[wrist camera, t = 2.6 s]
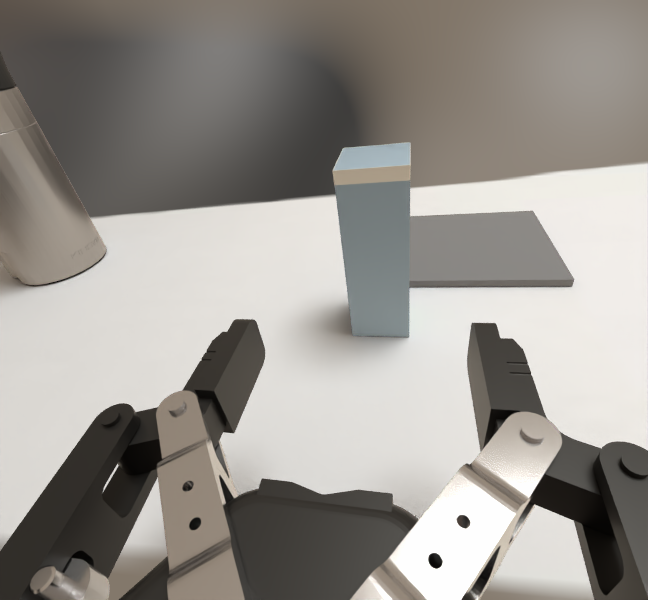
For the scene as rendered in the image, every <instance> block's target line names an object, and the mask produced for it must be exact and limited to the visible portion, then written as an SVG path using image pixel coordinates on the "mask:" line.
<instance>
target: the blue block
mask: <svg viewBox="0 0 648 600" xmlns="http://www.w3.org/2000/svg"><path fill="white" fill-rule="evenodd" d="M410 165H411V163H410V142H409V143H397V144H387V145H375V146H364V147H352V148H343V150H342V152H341V154H340V156H339V158H338V161H337V162H336V165H335V167H334V169H333V177H334V185H335V190H336V199H337V208H338V216H339V225H340V233H341V242H342V250H343V259H344V267H345V276H346V284H347V292H348V301H349V309H350V318H351V326H352V335H353V336H386V337H409V268H410V167H411V166H410Z"/></svg>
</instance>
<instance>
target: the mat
mask: <svg viewBox="0 0 648 600" xmlns="http://www.w3.org/2000/svg"><path fill="white" fill-rule="evenodd" d="M573 282H574V278H573V277H572V275H571V273H570V272H569V270H568V268H567V267H566V265H565V263H564V262H563V260H562V258H561V257H560V255H559V253H558V252H557V250H556V248H555V247H554V245H553V243H552V242H551V240H550V238H549V237H548V235H547V233H546V232H545V230H544V229H543V227H542V225H541V224H540V222H539V220H538V219H537V217H536V215H535V214H534V212H533V211H519V212H498V213H476V214H454V215H432V216H411V217H410V268H409V287H485V286H572V285H573Z"/></svg>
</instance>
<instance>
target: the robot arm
mask: <svg viewBox="0 0 648 600" xmlns="http://www.w3.org/2000/svg"><path fill="white" fill-rule="evenodd" d="M14 86H16V84H15V82H14V80H13V79H12V77H11V75H10V73H9V71H8V69H7V67H6V65H5V62H4V60H3V57H2V55H1V53H0V261H1V263H2V264H3V265H4V267H5V268H6V269H7V270H8V272H9V273H10V274H11V276H12V277H17V278H19V280H20V281H21V282H23V283H24V284H28V285H40V284H47V283H51V282H56V281H59V280H62V279H65V278H68V277H70V276H73V275H75V274H77V273H79V272H81V271H83V270H85V269H87V268H89V267H90V266H92V265H93V264H95V263H96V262H98V261H99V260H100V259H101V258H102V257H103V255H104V254H105V253H106V246H105V244H104V243H103V241H102V239H101V237H100V235H99V234H98V232H97V230H96V228H95V226H94V225H93V223H92V221H91V219H90V217H89V215H88V213H87V212H86V210H85V208H84V206H83V204H82V203H81V201H80V199H79V197H78V195H77V194H76V192H75V190H74V188H73V187H72V185H71V183H70V181H69V179H68V177H67V176H66V174H65V172H64V170H63V168H62V167H61V165H60V163H59V161H58V159H57V158H56V156H55V154H54V152H53V150H52V149H51V147H50V145H49V143H48V142H47V140H46V138H45V136H44V134H43V132H42V131H41V129H40V127H39V125H38V124H37V122H36V120H35V118H34V117H33V115H32V113H31V111H30V109H29V107H28V106H27V104H26V102H25V100H24V98H23V97H22V95H21V93H20V91H19V89H18V88H17V87H14ZM264 360H265V348H264V344H263V341H262V338H261V335H260V332H259V329H258V326H257V323H256V321H255V320H248V319H236V320H234V321H233V323H232V325H231V326H230V328H229V330H228V331H227V332H222V333H221V334H220V335H219V336H217V337H216V338H215V339H214V340H213V341H212V343H211V344H210V346H209V347H208V349H207V352H206V353H205V354H204V356H203V357H202V361H200V362H199V364H198V366H197V367H196V369H195V371H194V372H193V374H192V376H191V377H190V379H189V381H188V382H187V384H186V385H185V387H184V389H183V390H182V391H179V392H176V393H173V394H171V395H170V396H168V397H167V398H166V399H164V400H163V401H162V402H161V404H160V405H159V407H157V408H153V409H148V410H144V411H139V412H135V410H134V409H133V408H132V406H130V405H129V404H124V403H123V404H116V405H113V406H111V407H109V408H107V409H106V410H104V411H103V412H101V413H100V414H99V415H98V416H97V417H96V418H95V420H94V421H93V422H92V424H91V425H90V427H89V428H88V429H87V431H86V432H85V434H84V435H83V436H82V438H81V439H80V441H79V442H78V443H77V445H76V446H75V448H74V449H73V450H72V452H71V453H70V455H69V456H68V457H67V459H66V460H65V462H64V463H63V464H62V466H61V467H60V469H59V470H58V471H57V473H56V474H55V476H54V477H53V478H52V480H51V481H50V483H49V484H48V485H47V487H46V488H45V490H44V491H43V492H42V494H41V495H40V497H39V498H38V499H37V501H36V502H35V504H34V505H33V506H32V508H31V509H30V511H29V512H28V513H27V515H26V516H25V517H24V519H23V520H22V522H21V523H20V524H19V526H18V527H17V529H16V530H15V531H14V533H13V534H12V536H11V537H10V538H9V540H8V541H7V543H6V544H5V545H4V547H3V548H2V550H1V551H0V600H108V597H109V591H110V586H109V581H108V577H109V575H110V573H111V571H112V569H113V567H114V565H115V563H116V561H117V559H118V557H119V555H120V553H121V551H122V549H123V547H124V545H125V543H126V541H127V539H128V536H129V534H130V532H131V530H132V528H133V526H134V524H135V522H136V520H137V518H138V516H139V514H140V512H141V510H142V508H143V506H144V504H145V502H146V500H147V498H148V496H149V493H150V491H151V489H152V487H153V485H154V483H155V481H156V479H157V477H158V481H159V489H160V497H161V505H162V513H163V521H164V529H165V538H166V546H167V554H168V556H167V557H166V558H165V559H164V560H163V561H162V562H161V563H159V564H158V565H157V566H156V567H155V568H154V569H153V570H152V571H151V572H149V573H148V574H147V575H146V576H145V577H144V578H143V579H142V580H140V581H139V582H138V583H137V584H136V585H135V586H134V587H133V588H132V589H130V590H129V591H128V592H127V593H126V594H125V595H124V596H123V597H122V598H120V599H119V600H480V598H481V596H482V595H483V593H484V591H485V590H486V588H487V587H488V585H489V583H490V582H491V580H492V578H493V577H494V575H495V573H496V572H497V570H498V568H499V566H500V564H501V562H502V560H503V558H504V557H505V555H506V553H507V551H508V549H509V548H510V546H511V544H512V543H513V541H514V539H515V538H516V536H517V535H518V533H519V531H520V530H521V528H522V526H523V525H524V523H525V522H526V520H527V518H528V517H529V515H530V513H531V512H532V510H533V509H534V507H535V505H538V506H540V507H543V508H545V509H547V510H550V511H552V512H555V513H557V514H559V515H562V516H564V517H567V518H569V519H571V520H574V523H575V527H576V530H577V534H578V538H579V542H580V546H581V550H582V554H583V557H584V561H585V565H586V569H587V573H588V577H589V581H590V584H591V588H592V592H593V596H594V600H648V451H647V450H646V449H644V448H642V447H640V446H637V445H635V444H631V443H627V442H611V443H608V444H606V445H605V446H604V447H602V449H601V448H598V447H595V446H592V445H589V444H586V443H583V442H580V441H577V440H574V439H572V438H570V437H568V436H566V435H564V434H562V433H561V432H559V430H558V429H557V428H556V426H555V425H554V424H553V423H552V422H550V421H549V420H548V419H547V418H546V415H545V413H544V410H543V407H542V404H541V401H540V398H539V395H538V392H537V389H536V386H535V383H534V380H533V377H532V376H531V371H530V368H529V365H528V364H527V363H528V362H527V359H526V357H525V354H524V351H523V349H522V348H521V347H520V346H519V345H518V344H517V343H516V342H515V341H514V340H513V339H501V338H500V336H499V332H498V329H497V325H496V324H495V323H472V325H471V331H470V339H469V347H468V356H467V367H468V375H469V381H470V388H471V394H472V400H473V406H474V413H475V419H476V425H477V431H478V438H479V444H480V450H481V452H480V454H479V455H478V456H477V458H476V459H475V460H474V461H473V462H472V463H471V464H470V465H469V464H465V465H463V466H462V467H461V468H460V469H459V471H458V472H457V473H456V474H455V476H454V477H453V478H452V479H451V481H450V482H449V483H448V484H447V486H446V487H445V488H444V489H443V491H442V492H441V493H440V494H439V496H438V497H437V498H436V499H435V501H434V502H433V503H432V504H431V506H430V507H429V508H428V509H427V511H426V512H425V513H424V514H423V516H422V517H421V518H420V519H419V520H418V519H417V518H416V517H415V516H413V515H412V514H411V513H409V512H408V511H406V510H404V509H403V508H401V507H399V506H396V505H394V504H393V495H392V494H390V493H381V492H373V491H364V490H354V491H347V492H340V493H334V494H327V495H323V494H319V493H317V492H314V491H312V490H310V489H307V488H305V487H302V486H300V485H298V484H295V483H293V482H287V481H279V480H270V479H262V480H261V483H260V486H259V489H255V490H252V491H248V492H246V493H244V494H241V495H239V496H238V494H237V492H236V489H235V487H234V484H233V481H232V478H231V474H230V471H229V468H228V464H227V461H226V458H225V455H224V451H223V448H222V445H221V442H220V438H221V435H222V433H223V432H227V433H234V432H235V430H236V428H237V425H238V423H239V420H240V418H241V416H242V413H243V411H244V409H245V406H246V404H247V401H248V399H249V397H250V394H251V392H252V390H253V387H254V385H255V382H256V380H257V378H258V375H259V373H260V370H261V368H262V366H263V363H264ZM117 464H118V465H119V466H118V468H117V470H116V472H115V473H114V475H113V477H112V478H111V480H110V482H109V483H108V485H107V487H106V489H105V490H104V492H103V488H104V486H105V484H106V482H107V480H108V479H109V477H110V475H111V474H112V472H113V470H114V468H115V467H116V465H117ZM102 493H103V494H102Z"/></svg>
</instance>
